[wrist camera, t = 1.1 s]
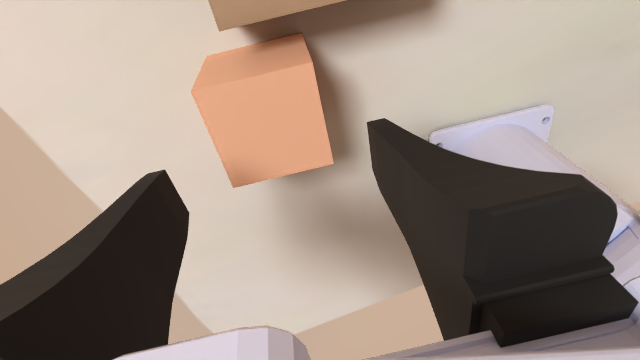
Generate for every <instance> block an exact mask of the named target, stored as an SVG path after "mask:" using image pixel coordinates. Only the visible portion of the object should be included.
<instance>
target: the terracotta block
mask: <svg viewBox="0 0 640 360" xmlns="http://www.w3.org/2000/svg"><path fill="white" fill-rule="evenodd" d="M191 93H192V95H193V98H194V100H195V102H196V104H197V107H198V109H199V111H200V114H201V116H202V118H203V120H204V123H205V125H206V127H207V129H208V132H209V134H210V136H211V138H212V141H213V143H214V145H215V148H216V150H217V152H218V154H219V157H220V159H221V161H222V163H223V166H224V168H225V170H226V172H227V175H228V177H229V179H230V182H231V184H232V186H233V188H235V187H240V186H244V185H248V184H252V183H256V182H260V181H264V180H269V179H273V178H277V177H281V176H285V175H289V174H294V173H298V172H302V171H306V170H310V169H314V168H318V167H323V166H327V165H331V164H334V162H333V158H332V153H331V148H330V143H329V138H328V134H327V129H326V124H325V119H324V115H323V110H322V105H321V100H320V96H319V91H318V86H317V81H316V76H315V72H314V67H313V62H312V59H311V57H310V54H309V51H308V49H307V46H306V43H305V41H304V38H303V35H302V33H299V34H295V35H291V36H286V37H282V38H278V39H274V40H270V41H266V42H262V43H258V44H254V45H249V46H245V47H241V48H237V49H233V50H229V51H225V52H221V53H217V54H213V55H208V56H206V59H205V61H204V63H203V65H202V68H201V70H200V72H199V74H198V77H197V79H196V81H195V84H194V86H193V88H192V90H191Z"/></svg>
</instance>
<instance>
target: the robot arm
mask: <svg viewBox="0 0 640 360" xmlns="http://www.w3.org/2000/svg"><path fill="white" fill-rule="evenodd" d="M554 112H555V109H554V107H553V106H551V105H549V104H544V105H540V106H536V107H532V108H527V109H523V110H519V111H515V112H511V113H507V114H502V115H498V116H494V117H490V118H486V119H482V120H478V121H473V122H469V123H465V124H461V125H457V126H453V127H449V128H444V129H440V130H436V131H434V132H433V133H431V135H430V136H429V142H428V141H426V140H424V139H422V138H420V137H418V136H416V135H414V134H412V133H410V132H408V131H406V130H405V129H403V128H401V127H399V126H398V125H396V124H394V123H392V122H390V121H389V120H387V119H385V118H383V119H379V120H374V121H370V122H367V127H368V135H369V144H370V152H371V160H372V168H373V172H374V175H375V178H376V181H377V183H378V186H379V189H380V191H381V194H382V195H383V197H384V199H385V201H386V203H387V205H388V207H389V209H390V211H391V213H392V214H393V216H394V218H395V220H396V222H397V224H398V226H399V228H400V230H401V231H402V233H403V235H404V237H405V239H406V241H407V243H408V245H409V248H410V250H411V252H412V255H413V258H414V260H415V263H416V265H417V268H418V270H419V273H420V275H421V278H422V281H423V283H424V286H425V289H426V291H427V294H428V296H429V299H430V302H431V305H432V308H433V311H434V313H435V316H436V319H437V322H438V324H439V327H440V330H441V333H442V336H443V339H444V341H441V342H437V343H433V344H428V345H424V346H420V347H416V348H411V349H407V350H403V351H399V352H394V353H390V354H385V355H381V356H377V357H372V358H368V359H364V360H640V211H636V210H635V209H634V208H632V207H631V206H630V205H629V204H627V203H626V202H625V201H623V200H622V199H621V198H619V197H618V196H617V195H615V194H614V193H613V192H611V191H610V190H609V189H607V188H606V187H605V186H603V185H602V184H601V183H599V182H598V181H597V180H595V179H594V178H593V177H591V176H590V175H589V174H587V173H586V172H585V171H583V170H582V169H581V168H579V167H578V166H577V165H575V164H574V163H573V162H571V161H570V160H569V159H567V158H566V157H565V156H563V155H562V154H561V153H559V152H558V151H557V150H555V149H554V148H553V147H552V146H550V145H549V144H548V139H549V134H550V130H551V125H552V121H553V117H554ZM545 117H546V118H545ZM544 118H545V119H544ZM543 119H544V120H543ZM542 120H543V121H542ZM437 143H440V145H439V146H437V145H436V144H437ZM188 224H189V212H188V210H187V208H186V206H185V205H184V203H183V201H182V199H181V197H180V196H179V194H178V192H177V190H176V188H175V187H174V185H173V183H172V181H171V180H170V178H169V176H168V174H167V172H166V171H165V170H161V171H157V172H153V173H148V174H147V175H145V176H144V177H142V178H141V179H140V180H139V181H137V182H136V183H135V184H134V185H133V186H132V187H131V188H129V189H128V190H127V191H126V192H125V193H124V194H123V195H122V196H121V197H119V198H118V199H117V200H116V201H115V202H114V203H113V204H112V205H111V206H109V207H108V208H107V209H106V210H105V211H104V212H103V213H102V214H100V215H99V216H98V217H97V218H96V219H94V220H93V221H92V222H91V223H90V224H88V225H87V226H86V227H85V228H84V229H83V230H81V231H80V232H79V233H78V234H76V235H75V236H74V237H73V238H71V239H70V240H69V241H67V242H66V243H65V244H63V245H62V246H60V247H59V248H58V249H56V250H55V251H53V252H52V253H51V254H49V255H48V256H46V257H45V258H43V259H41V260H40V261H38V262H37V263H35V264H34V265H32V266H30V267H29V268H27V269H26V270H24V271H23V272H21V273H19V274H18V275H16V276H15V277H13V278H11V279H10V280H8V281H6V282H4V283H3V284H1V285H0V360H311V359H310V356H309V354H308V352H307V349H306V347H305V345H304V344H303V343H302V342H301V341H300V340H299V339H297V338H296V337H295V336H294V335H293V334H292V333H290V332H289V331H286V330H282V329H278V328H273V327H269V326H257V327H244V328H237V329H233V330H229V331H224V332H220V333H216V334H211V335H207V336H203V337H199V338H194V339H190V340H186V341H181V342H177V343H173V344H168V336H169V326H170V318H171V309H172V302H173V297H174V291H175V287H176V283H177V279H178V275H179V271H180V267H181V263H182V258H183V254H184V250H185V246H186V241H187V236H188Z"/></svg>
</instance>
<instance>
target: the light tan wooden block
mask: <svg viewBox="0 0 640 360" xmlns="http://www.w3.org/2000/svg"><path fill="white" fill-rule="evenodd" d="M208 1H209V4H210V6H211V9H212V12H213V15H214V18H215V21H216V23H217V26H218V29H219V31H223V30H227V29H231V28H235V27H239V26H243V25H247V24H252V23H256V22H260V21H264V20H268V19H272V18H276V17H280V16H284V15H288V14H292V13H296V12H301V11H305V10H309V9H313V8H317V7H321V6H325V5H329V4H333V3H337V2H341V1H345V0H208Z"/></svg>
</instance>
